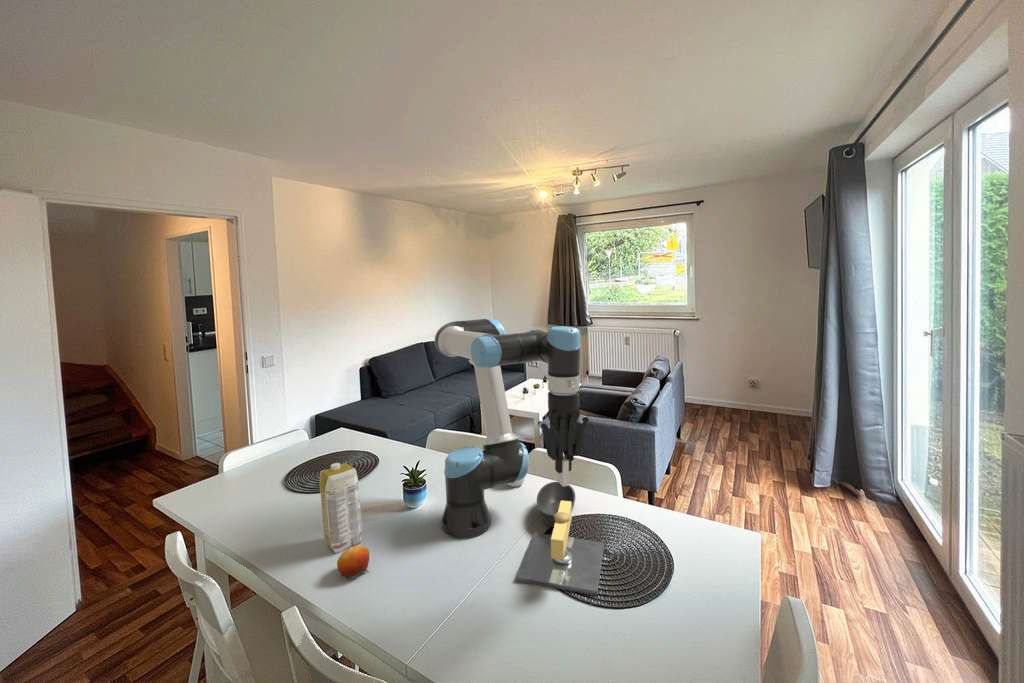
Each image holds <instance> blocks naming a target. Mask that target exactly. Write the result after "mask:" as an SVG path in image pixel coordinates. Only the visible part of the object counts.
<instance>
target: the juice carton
mask: <svg viewBox="0 0 1024 683" xmlns="http://www.w3.org/2000/svg"><path fill="white" fill-rule="evenodd" d="M358 477H359V476H358V473H357V470H356V468H355V467H353V466H352V465H351V464H349V463H347V462H345V463H342V464H341V463H340V462H334V463H332V464H330V468H326V469H324V470H320V473H319V492H320V504H321V513H322V525H323V535H324V539H325V543H326V544H327V546H328V547H329V548H330V549H331V551H333V552H334V553H335V554H337V553H340V552H341V553H342V552H344V551H345V550H347V549H349V548H352V547H354V546H356V545H359V544H360V543H361V542H362V535H363V533H362V532H363V531H362V530H363V526H362V513H361V503H360V502H361V500H360V488H359V487H360V486H359V478H358Z"/></svg>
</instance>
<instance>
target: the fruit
mask: <svg viewBox="0 0 1024 683" xmlns="http://www.w3.org/2000/svg"><path fill="white" fill-rule="evenodd" d="M369 563H370V550H369V549H368V547H366V546H365V545H363V544H356V545H354V546H351V547H349V548H347V549H345V550H343V551H342V552H341V554H340V556H339V557H338V558H337V561H336V566H337V571H338V573H339V574H340V575H341V577H343V578H344V579H345V578H346V579H353V580H356V579H357V577H359V575H360V574H362V573H366V572H368V573H370V571H368V567H369Z"/></svg>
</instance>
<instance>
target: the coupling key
mask: <svg viewBox="0 0 1024 683" xmlns="http://www.w3.org/2000/svg"><path fill="white" fill-rule="evenodd" d="M572 513H573V510H572V501H561V502H560V506H559V510H558V513H556V514H555V515H554V519H555V525H554V528H553V530H552V532H551V535H552V537H551V558H553V559H561V560H564V555H565V550H566V545H567V540H568V537H569V533H570V528H571V524H572V517H573V515H572Z"/></svg>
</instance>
